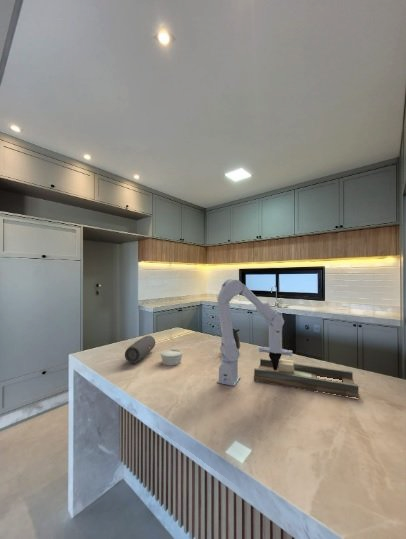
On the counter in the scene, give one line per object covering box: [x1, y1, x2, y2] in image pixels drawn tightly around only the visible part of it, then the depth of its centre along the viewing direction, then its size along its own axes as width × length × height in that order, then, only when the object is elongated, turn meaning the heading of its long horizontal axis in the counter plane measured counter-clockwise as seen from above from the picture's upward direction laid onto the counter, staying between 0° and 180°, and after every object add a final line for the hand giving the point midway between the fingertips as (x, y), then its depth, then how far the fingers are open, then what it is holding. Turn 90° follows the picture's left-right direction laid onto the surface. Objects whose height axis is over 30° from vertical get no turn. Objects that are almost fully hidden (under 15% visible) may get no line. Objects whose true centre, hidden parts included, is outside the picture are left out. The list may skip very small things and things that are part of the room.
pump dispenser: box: [232, 326, 241, 350], centre depth 142 cm, size 10×10×15 cm
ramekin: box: [160, 349, 184, 367], centre depth 127 cm, size 11×11×5 cm
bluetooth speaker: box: [124, 335, 157, 364], centre depth 133 cm, size 23×9×10 cm, turn 171°
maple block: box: [279, 358, 295, 374], centre depth 108 cm, size 6×6×5 cm
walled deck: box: [253, 358, 360, 399], centre depth 105 cm, size 17×39×4 cm, turn 66°
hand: (275, 369), depth 110 cm, fingers closed
